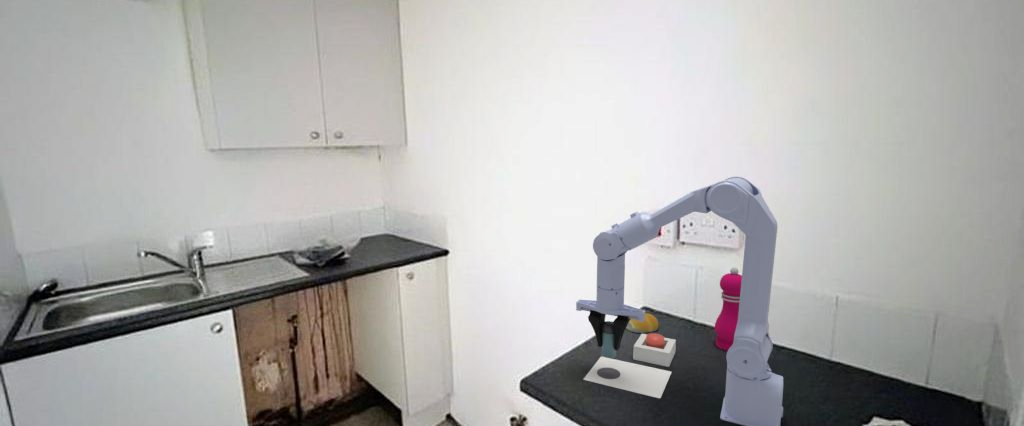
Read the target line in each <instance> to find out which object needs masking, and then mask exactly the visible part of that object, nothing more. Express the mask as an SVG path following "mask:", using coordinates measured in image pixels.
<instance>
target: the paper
mask: <svg viewBox="0 0 1024 426" xmlns="http://www.w3.org/2000/svg"><path fill="white" fill-rule="evenodd" d="M672 372H673V371H670V370H666V369H661V368H656V367H651V366H647V365H643V364H638V363H635V362H634V363H633V362H628V361H623V360H620V359H614V358H606V357H604V356H602V355H601V356H600V357H599V358H598V360H597V361H596V362H595V363H594V365H593V366H592V367H591V369H590V370H589V371H588V373H587V374H585V376H584V377H583V380H584V381H588V382H591V383H596V384H599V385H603V386H607V387H612V388H616V389H620V390H624V391H628V392H632V393H634V394H635V393H636V394H640V395H644V396H648V397H652V398H657V399H661V398H662V395H663V393H664V391H665V389H666V386H667V384H668V382H669V379H670V376H671V375H672Z"/></svg>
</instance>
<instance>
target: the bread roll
mask: <svg viewBox="0 0 1024 426" xmlns="http://www.w3.org/2000/svg"><path fill="white" fill-rule="evenodd" d="M659 325H660V324H659V321H658V319H657V318H656V317H655V316H654V315H652V314H651V313H646V312H645V320H644V321H643V322H640V321H638V320H635V319H630V321H629V323H628V325H627V327H626V329H625V330H628V332H630V333H635V334H649V333H653V332H656V331H658V329H659V327H660V326H659Z"/></svg>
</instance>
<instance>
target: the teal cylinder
mask: <svg viewBox="0 0 1024 426" xmlns="http://www.w3.org/2000/svg"><path fill="white" fill-rule="evenodd" d="M613 322H614V321H612V320H611V321H609V320H608V321H606V320H605V322H603V323H602V346H601V356H602V357H606V358H611V359H614V358H615V357H616V356H617V350H614V340H615V331H614V323H613Z"/></svg>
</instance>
